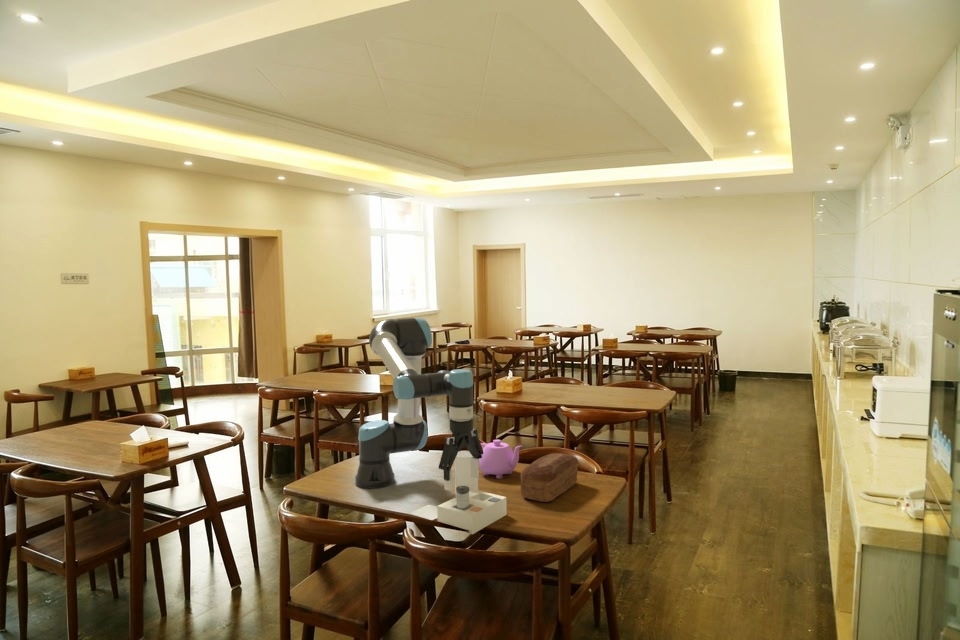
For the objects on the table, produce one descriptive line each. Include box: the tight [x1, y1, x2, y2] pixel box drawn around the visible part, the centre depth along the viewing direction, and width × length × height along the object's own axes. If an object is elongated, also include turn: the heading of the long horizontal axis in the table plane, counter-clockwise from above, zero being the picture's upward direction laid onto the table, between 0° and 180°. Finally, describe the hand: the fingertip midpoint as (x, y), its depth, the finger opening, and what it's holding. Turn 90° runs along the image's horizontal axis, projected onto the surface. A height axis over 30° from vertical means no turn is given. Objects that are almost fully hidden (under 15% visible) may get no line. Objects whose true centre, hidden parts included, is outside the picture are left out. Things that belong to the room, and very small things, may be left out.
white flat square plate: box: [409, 504, 438, 521], centre depth 204 cm, size 10×10×1 cm
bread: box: [520, 452, 579, 503], centre depth 225 cm, size 14×28×12 cm, turn 147°
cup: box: [454, 450, 479, 497], centre depth 220 cm, size 8×8×16 cm
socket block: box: [437, 489, 508, 535], centre depth 200 cm, size 14×19×6 cm
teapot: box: [479, 439, 522, 480], centre depth 245 cm, size 22×16×14 cm
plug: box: [456, 486, 469, 511], centre depth 196 cm, size 4×4×12 cm
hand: (462, 483), depth 195 cm, fingers open, 13 cm apart
